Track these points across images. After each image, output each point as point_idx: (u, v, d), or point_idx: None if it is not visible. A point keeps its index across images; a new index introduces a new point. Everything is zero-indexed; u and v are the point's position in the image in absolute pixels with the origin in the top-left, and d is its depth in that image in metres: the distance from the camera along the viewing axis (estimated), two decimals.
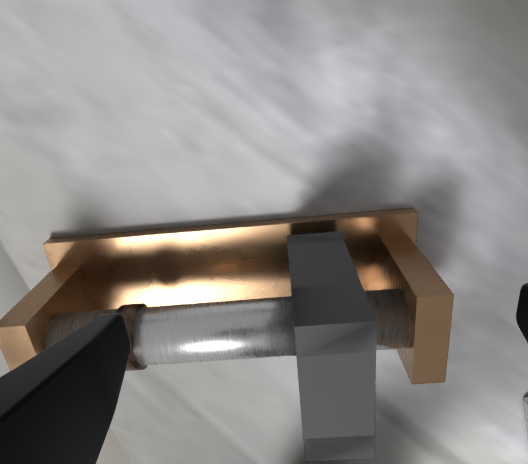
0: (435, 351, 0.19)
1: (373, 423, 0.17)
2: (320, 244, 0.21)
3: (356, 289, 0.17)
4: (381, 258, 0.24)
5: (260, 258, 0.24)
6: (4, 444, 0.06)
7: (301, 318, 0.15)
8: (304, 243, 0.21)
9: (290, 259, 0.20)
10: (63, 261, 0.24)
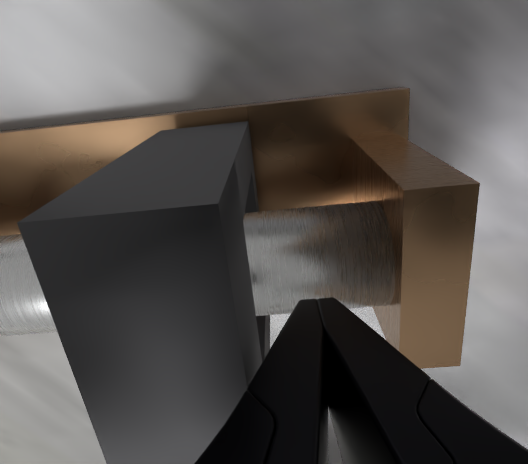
0: (442, 305, 0.10)
1: None
2: (204, 132, 0.12)
3: (217, 167, 0.08)
4: (352, 171, 0.15)
5: None
6: (323, 426, 0.05)
7: (53, 208, 0.06)
8: (179, 133, 0.12)
9: (136, 147, 0.11)
10: None
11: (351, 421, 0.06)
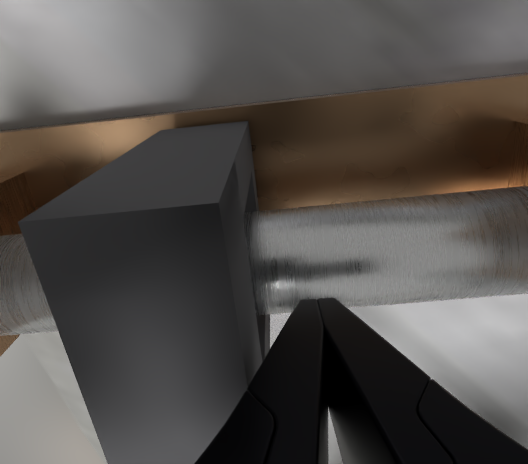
0: None
1: None
2: (204, 132, 0.12)
3: (217, 166, 0.08)
4: (512, 155, 0.15)
5: (313, 158, 0.15)
6: (322, 426, 0.05)
7: (53, 208, 0.06)
8: (179, 133, 0.12)
9: (136, 147, 0.11)
10: None
11: (351, 421, 0.06)
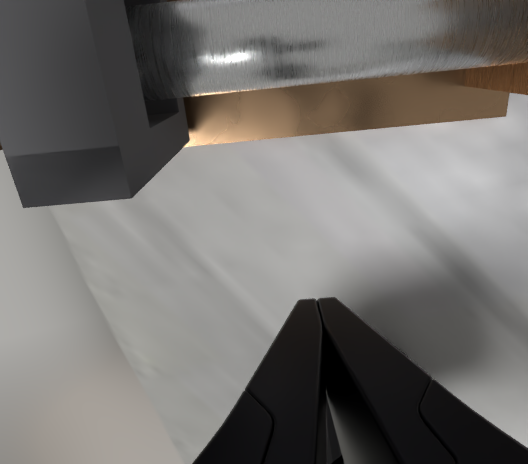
0: None
1: (109, 118, 0.10)
2: None
3: None
4: None
5: None
6: (321, 426, 0.05)
7: None
8: None
9: None
10: None
11: (352, 421, 0.06)
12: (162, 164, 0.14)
